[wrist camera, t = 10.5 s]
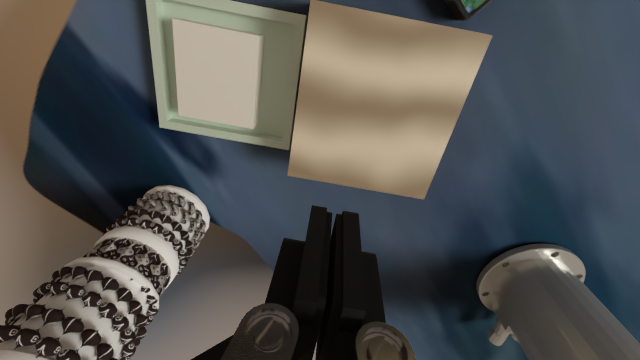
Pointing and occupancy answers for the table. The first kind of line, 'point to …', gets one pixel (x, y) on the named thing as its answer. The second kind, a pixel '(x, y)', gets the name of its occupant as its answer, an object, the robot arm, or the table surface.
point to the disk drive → (465, 8)
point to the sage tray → (277, 69)
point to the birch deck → (379, 98)
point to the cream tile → (218, 72)
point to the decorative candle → (110, 284)
